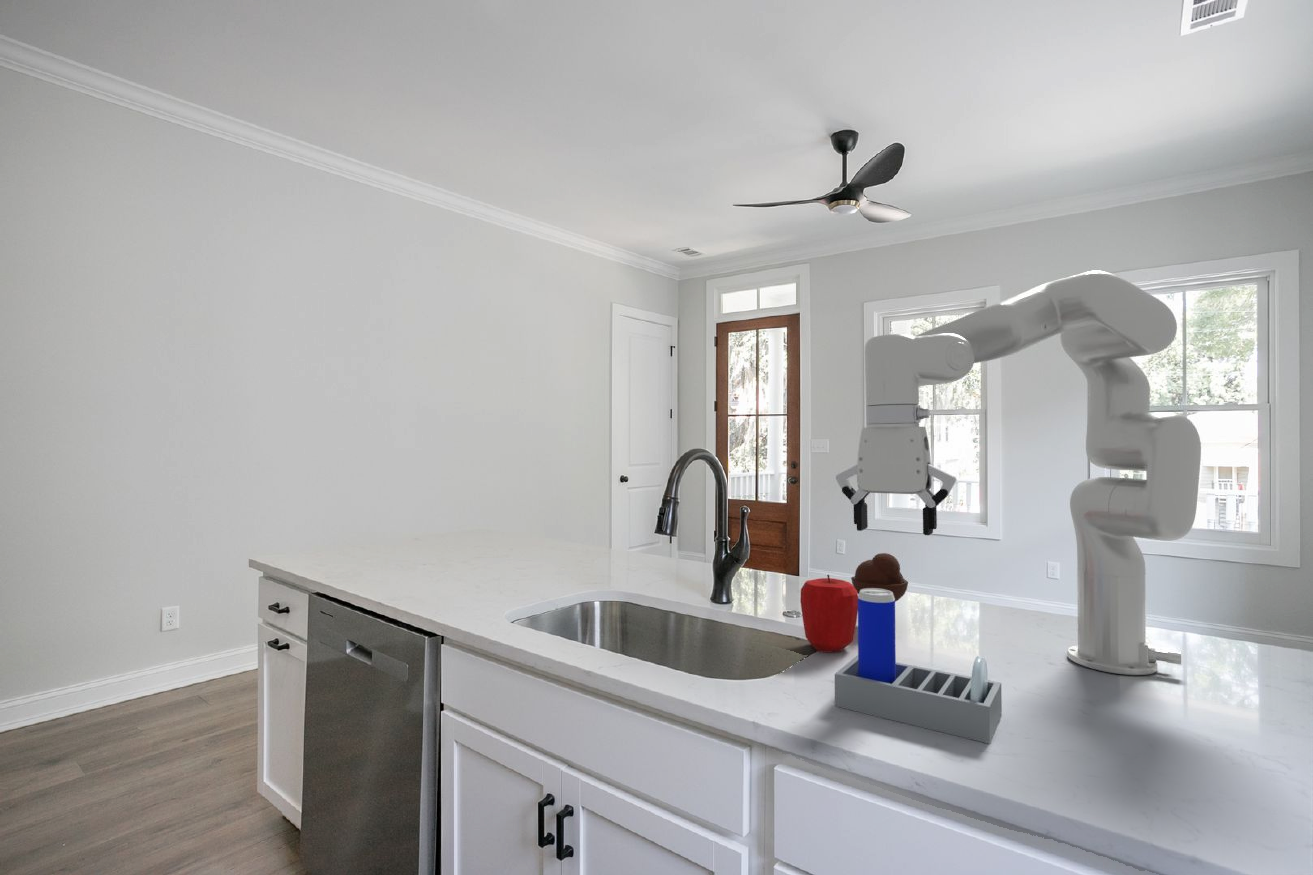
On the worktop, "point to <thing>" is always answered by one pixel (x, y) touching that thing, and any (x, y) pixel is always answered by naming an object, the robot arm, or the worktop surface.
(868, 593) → the beverage can
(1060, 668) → the worktop surface
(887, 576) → the ice cream bowl
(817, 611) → the apple
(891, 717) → the dish rack
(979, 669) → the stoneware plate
